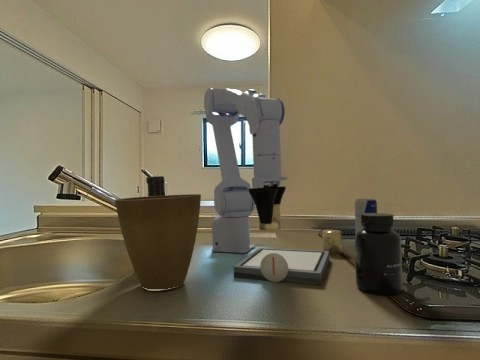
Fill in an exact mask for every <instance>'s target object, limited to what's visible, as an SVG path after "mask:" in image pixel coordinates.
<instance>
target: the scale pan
mask: <svg viewBox="0 0 480 360" xmlns="http://www.w3.org/2000/svg"><path fill="white" fill-rule="evenodd" d="M270 253H277V254H279V255H281V256H283V257H284V258H285V260H286V261H287V264H288V269H289V270H302V271H315V269H316V267H317V265H318V263H319V261H320V259H321V256H322V253H319V252H299V251H280V250H262V251H261V252H260V253H258V254H257V255H256V256H254V257H253V258H252V259H251V260H249V261H248V262H247V263H246V264H244V265H243V266H249V267H260V265H261V261H262V259H263V258H264V257H265V256H266V255H267V254H270Z"/></svg>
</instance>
